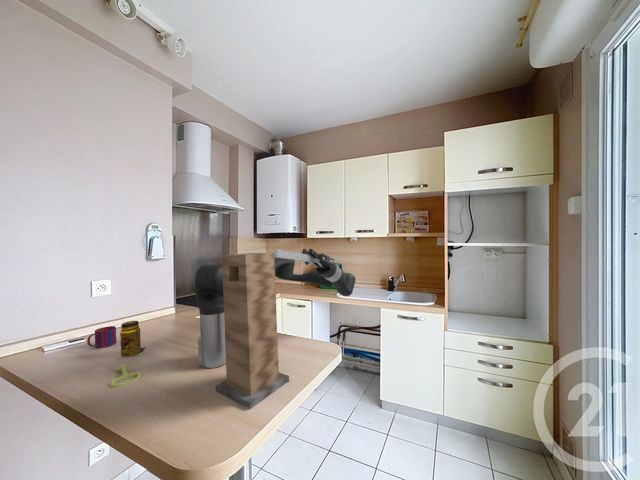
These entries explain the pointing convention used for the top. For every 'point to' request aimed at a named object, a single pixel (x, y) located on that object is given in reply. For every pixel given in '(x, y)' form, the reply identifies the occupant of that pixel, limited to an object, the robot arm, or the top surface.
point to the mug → (104, 337)
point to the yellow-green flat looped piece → (124, 377)
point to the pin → (293, 256)
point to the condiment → (130, 340)
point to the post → (250, 328)
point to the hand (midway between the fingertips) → (306, 250)
